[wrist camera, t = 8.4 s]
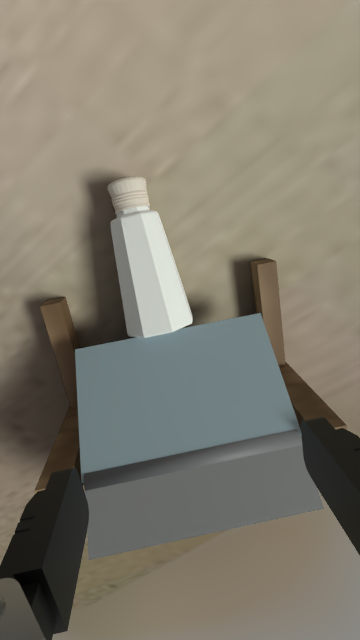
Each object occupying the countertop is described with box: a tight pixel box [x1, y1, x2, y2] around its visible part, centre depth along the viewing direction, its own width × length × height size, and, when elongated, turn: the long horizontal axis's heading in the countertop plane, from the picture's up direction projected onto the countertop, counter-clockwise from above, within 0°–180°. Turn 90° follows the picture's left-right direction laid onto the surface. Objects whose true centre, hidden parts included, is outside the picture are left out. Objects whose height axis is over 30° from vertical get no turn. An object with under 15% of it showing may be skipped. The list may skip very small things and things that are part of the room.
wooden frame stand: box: [35, 258, 347, 494], centre depth 25 cm, size 19×16×11 cm
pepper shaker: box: [107, 176, 193, 338], centre depth 26 cm, size 5×5×11 cm
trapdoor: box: [75, 313, 323, 560], centre depth 25 cm, size 14×13×7 cm
